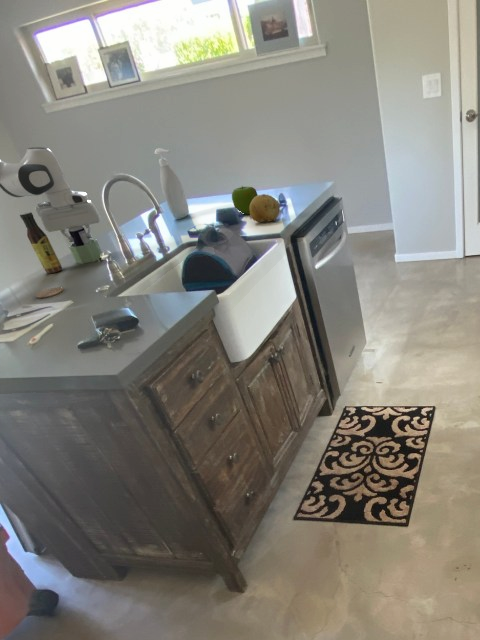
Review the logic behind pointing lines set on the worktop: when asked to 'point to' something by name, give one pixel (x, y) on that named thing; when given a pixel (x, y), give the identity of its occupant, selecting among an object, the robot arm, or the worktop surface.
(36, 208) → the robot arm
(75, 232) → the beverage can
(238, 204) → the apple
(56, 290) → the coaster
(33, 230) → the sauce bottle
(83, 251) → the green bowl
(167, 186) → the soap bottle
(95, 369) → the worktop surface
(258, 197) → the potato
